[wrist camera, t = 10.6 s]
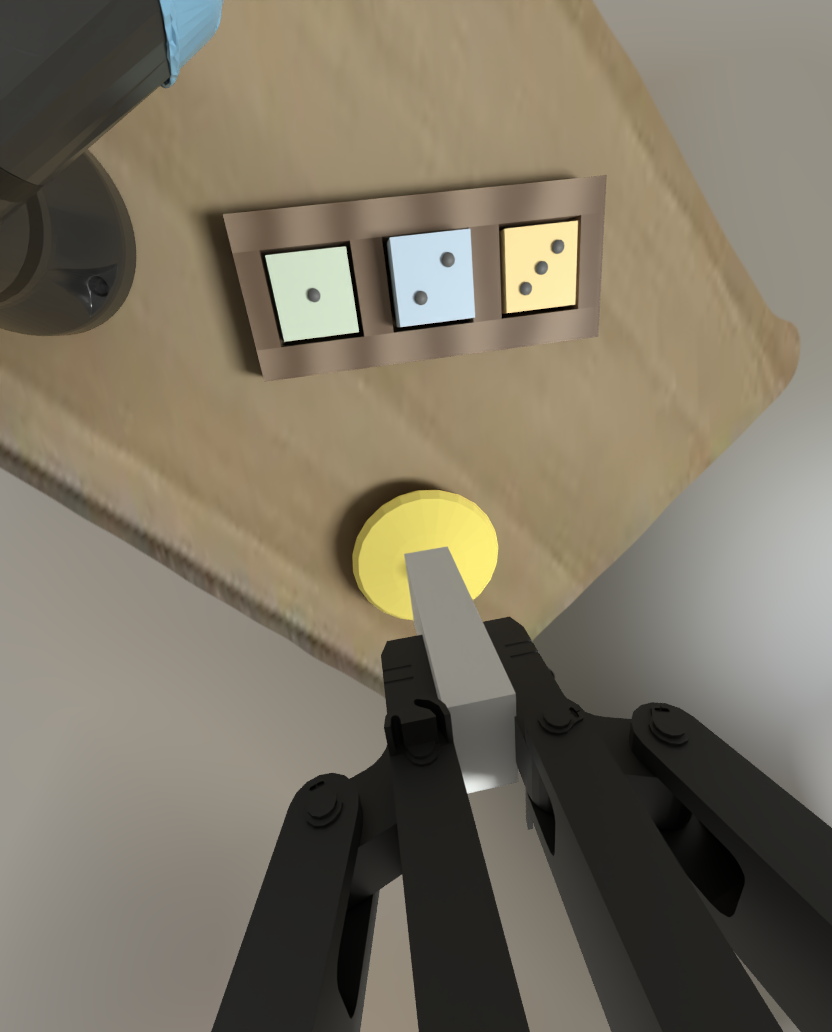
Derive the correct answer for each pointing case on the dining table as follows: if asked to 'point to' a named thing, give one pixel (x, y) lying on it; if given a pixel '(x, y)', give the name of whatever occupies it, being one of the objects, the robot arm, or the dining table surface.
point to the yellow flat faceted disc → (422, 545)
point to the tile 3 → (538, 266)
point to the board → (365, 235)
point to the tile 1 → (313, 293)
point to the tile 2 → (431, 277)
